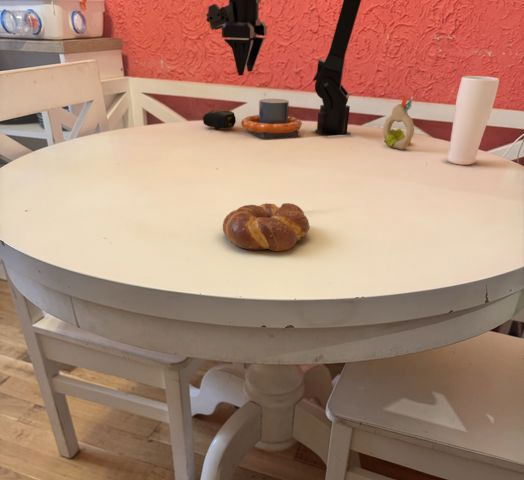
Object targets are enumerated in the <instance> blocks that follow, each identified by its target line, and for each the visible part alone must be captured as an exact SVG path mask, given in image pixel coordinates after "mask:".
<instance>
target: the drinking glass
mask: <svg viewBox="0 0 524 480" xmlns="http://www.w3.org/2000/svg"><path fill="white" fill-rule="evenodd" d="M499 84H500V78H499V77H493V76H483V75H463V76H462V77H461V79H460V82H459V86H458V90H457V95H456V100H455V105H454V113H453V120H452V127H451V133H450V139H449V140H450V141H449V147H448V153H447V157H446V158H447V161H448V162H449V163H451V164H455V165H460V166H468V165H469V166H470V165H473V164H474V163H475V162H476V159H477V155H478V151H479V148H480V146H481V143H482V139H483V137H484V133H485V130H486V128H487V125H488V122H489V119H490V116H491V114H492V110H493V107H494V103H495V100H496V97H497V93H498V89H499Z"/></svg>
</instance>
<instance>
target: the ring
mask: <svg viewBox="0 0 524 480" xmlns="http://www.w3.org/2000/svg"><path fill="white" fill-rule="evenodd" d="M240 124H241V127H242V128H244V129H245V130H246V131H248V132H249V131H254V132H259V133H289V132H294V131H299V130H300V129H301V127H302V126H303V125H302V124H303V121H301V119H300V118H297V117H294V116H290V115H288V123H283V124H268V123H259V114H254V115H247V116H245V117H244V118H243V119H241V122H240Z"/></svg>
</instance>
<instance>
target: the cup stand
mask: <svg viewBox="0 0 524 480" xmlns="http://www.w3.org/2000/svg"><path fill="white" fill-rule="evenodd" d="M258 105H259V107H258V115H259V123H268V124H283V123H288V116H289V106H290V101H289V100H288V99H283V98H262V99H259V100H258ZM248 132H249V133H251V134H253V135H254V136H256V137H259V138H260V139H262V140H269V139H271V140H272V139H285V138H297V137H299V132H300V131H299V130H298V131H294V132H289V133H259V132H254V131H249V130H248Z"/></svg>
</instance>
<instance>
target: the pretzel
mask: <svg viewBox="0 0 524 480" xmlns="http://www.w3.org/2000/svg"><path fill="white" fill-rule="evenodd" d="M310 228H311V227H310V222H309V219H308V217H307V216H306V215H305V213H304V210H303V209H302V208H301V207H300V206H298V205H297V204H294V203H290V202H288V203H287V202H286V203H285V202H284V203H282V204H281V205H280V206H277V205H276V204H275V203H266V202H265V203H262V204H260V205H257V204H247V205H242V206H240V207H238V208H237V209H235V210H232V211H231V212H229V213H228V214H227V215H226V216H225V218H224V219H223V223H222V231H223V234H224V236H225V237H226V238H227V239H228V240H229V241H230V242H231V243H232V244H233V245H235V246H237V247H239V248H242V249H246V250H250V251H254V250H258V251H259V250H270V251H274V252H282V251H287V250H290V249H291V248H293V247H294V246H295V245H296V244H297V242H299V241H300V240H301V238H302V237H305V236H306V235H307V234H308V232H309V230H310Z"/></svg>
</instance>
